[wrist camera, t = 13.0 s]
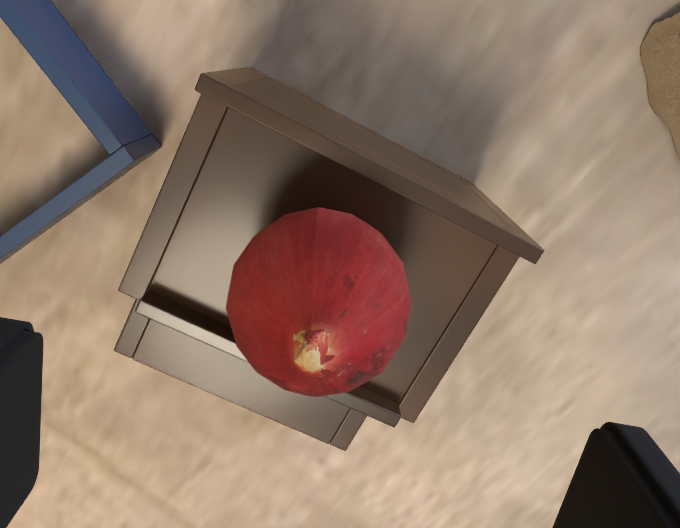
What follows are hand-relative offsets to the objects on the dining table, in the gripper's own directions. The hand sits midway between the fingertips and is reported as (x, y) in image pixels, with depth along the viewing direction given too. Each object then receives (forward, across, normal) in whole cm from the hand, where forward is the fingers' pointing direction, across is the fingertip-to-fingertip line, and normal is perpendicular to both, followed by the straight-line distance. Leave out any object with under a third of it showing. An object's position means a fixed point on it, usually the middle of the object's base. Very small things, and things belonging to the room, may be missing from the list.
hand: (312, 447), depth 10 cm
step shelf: (+23, +1, +5) cm, 23 cm away
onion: (+13, 0, +2) cm, 13 cm away
